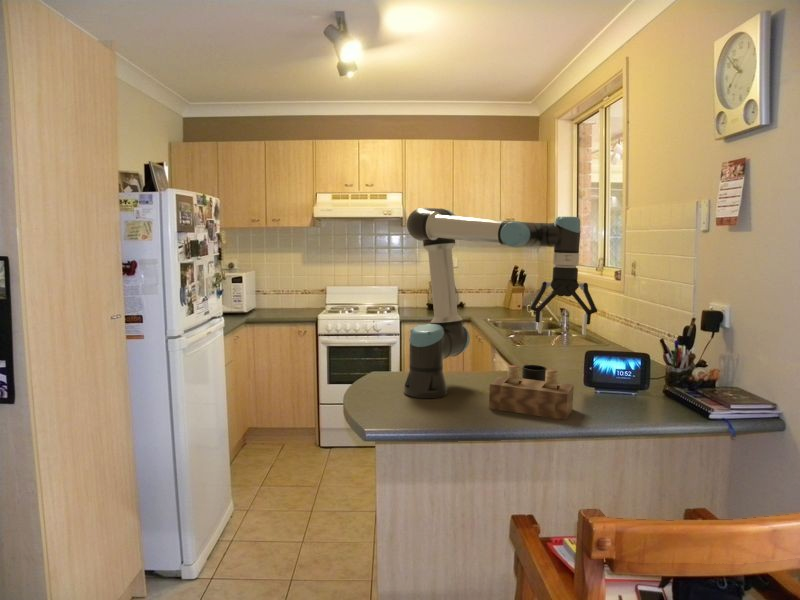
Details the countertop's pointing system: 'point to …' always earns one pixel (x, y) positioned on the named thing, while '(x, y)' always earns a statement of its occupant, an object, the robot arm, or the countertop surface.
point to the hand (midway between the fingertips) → (561, 333)
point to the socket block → (531, 398)
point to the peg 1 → (513, 375)
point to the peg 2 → (551, 379)
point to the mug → (534, 372)
